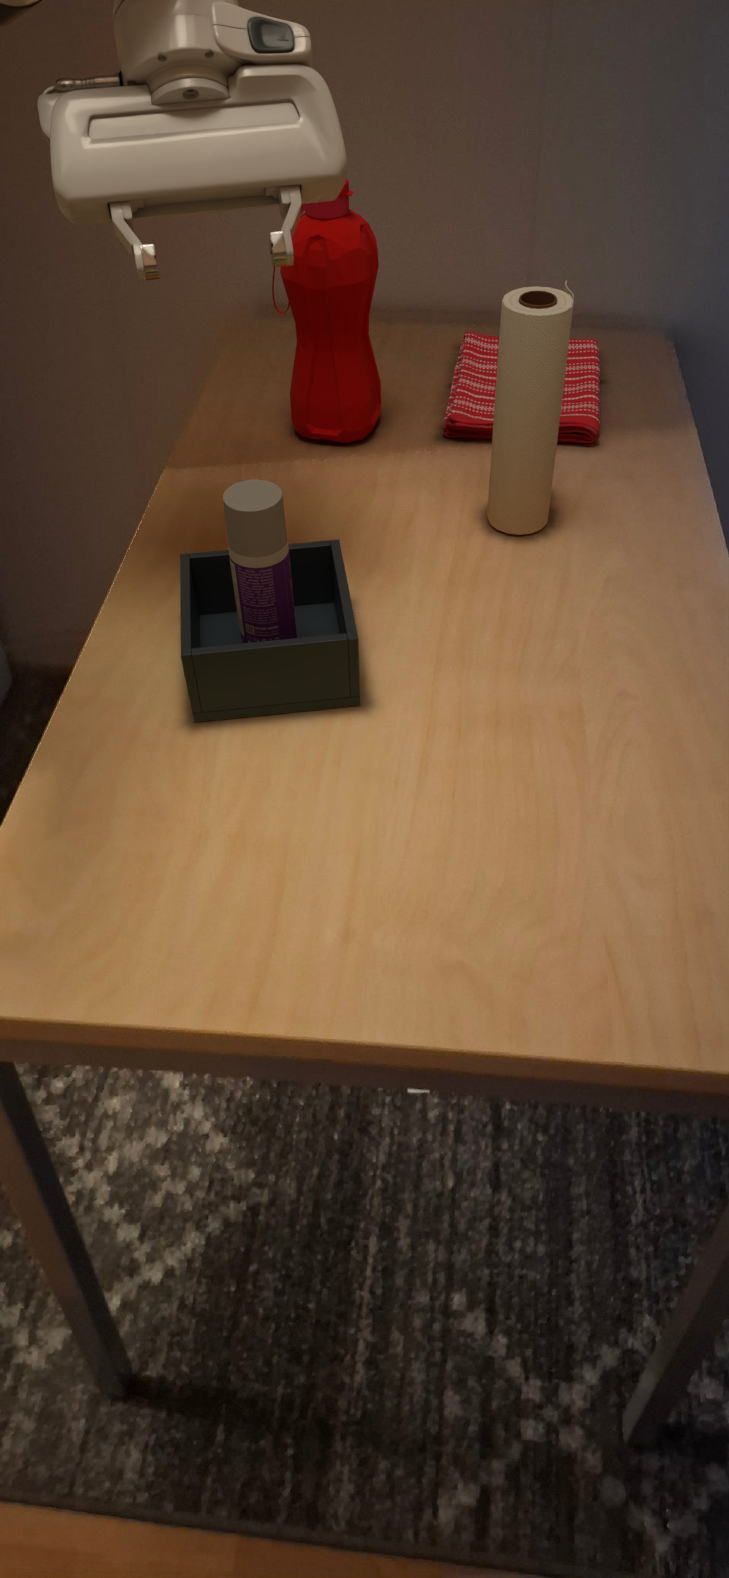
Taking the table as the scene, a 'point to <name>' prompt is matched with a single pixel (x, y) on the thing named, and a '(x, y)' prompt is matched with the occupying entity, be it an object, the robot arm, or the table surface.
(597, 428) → the dish towel
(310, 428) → the water bottle
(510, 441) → the paper towel roll
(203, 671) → the tub
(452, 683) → the table surface
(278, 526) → the container
